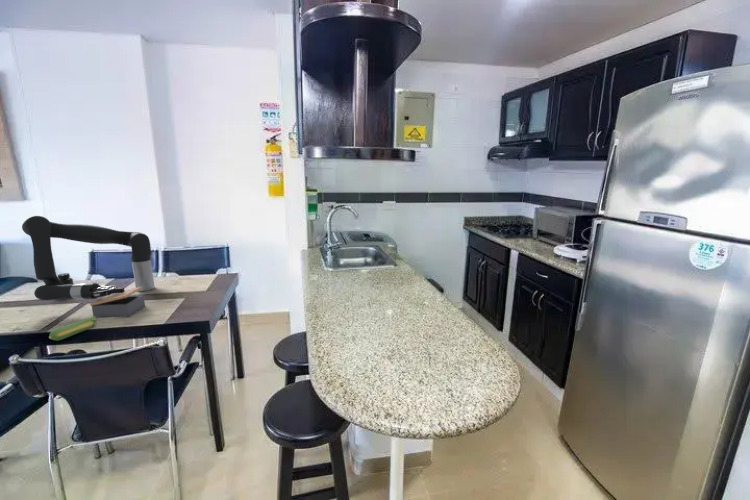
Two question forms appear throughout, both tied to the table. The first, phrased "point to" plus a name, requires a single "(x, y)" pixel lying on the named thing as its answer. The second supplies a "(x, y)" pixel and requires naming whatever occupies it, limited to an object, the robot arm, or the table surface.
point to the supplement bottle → (65, 279)
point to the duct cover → (116, 296)
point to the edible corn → (72, 329)
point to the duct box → (119, 307)
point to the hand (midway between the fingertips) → (123, 290)
